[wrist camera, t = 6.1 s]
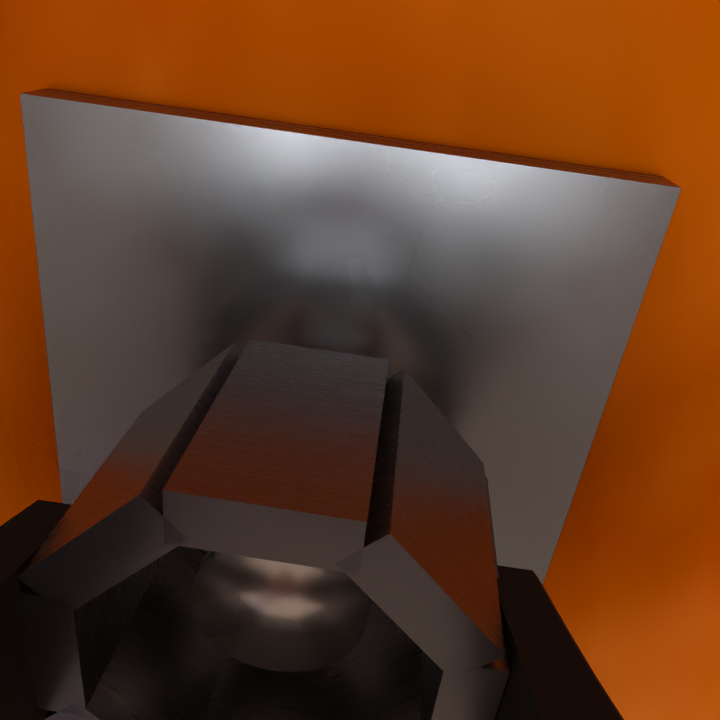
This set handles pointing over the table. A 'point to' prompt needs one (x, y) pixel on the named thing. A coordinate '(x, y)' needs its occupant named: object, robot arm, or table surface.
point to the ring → (274, 549)
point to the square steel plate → (333, 307)
